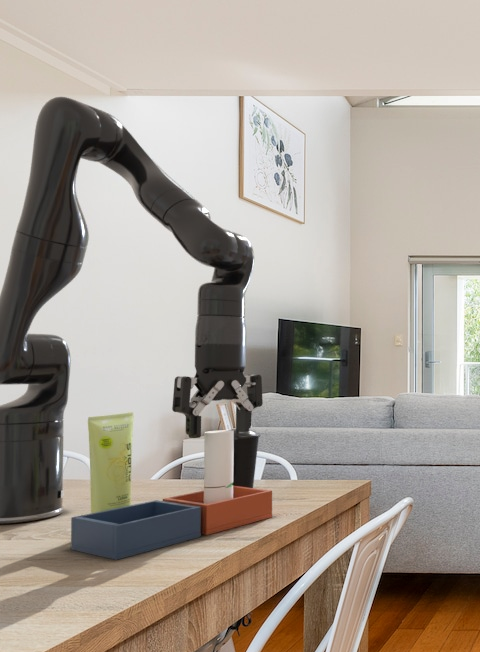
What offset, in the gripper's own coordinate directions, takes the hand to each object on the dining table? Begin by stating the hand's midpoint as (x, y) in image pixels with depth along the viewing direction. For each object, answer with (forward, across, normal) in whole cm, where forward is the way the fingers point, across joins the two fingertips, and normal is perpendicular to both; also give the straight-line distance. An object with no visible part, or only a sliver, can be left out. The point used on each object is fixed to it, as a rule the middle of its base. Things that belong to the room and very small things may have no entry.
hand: (219, 434), depth 101 cm
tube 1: (+16, +11, -10) cm, 22 cm away
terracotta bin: (+15, 0, 0) cm, 15 cm away
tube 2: (+15, 0, 0) cm, 15 cm away
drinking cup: (+15, -10, -9) cm, 20 cm away
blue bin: (+15, +13, 0) cm, 20 cm away
